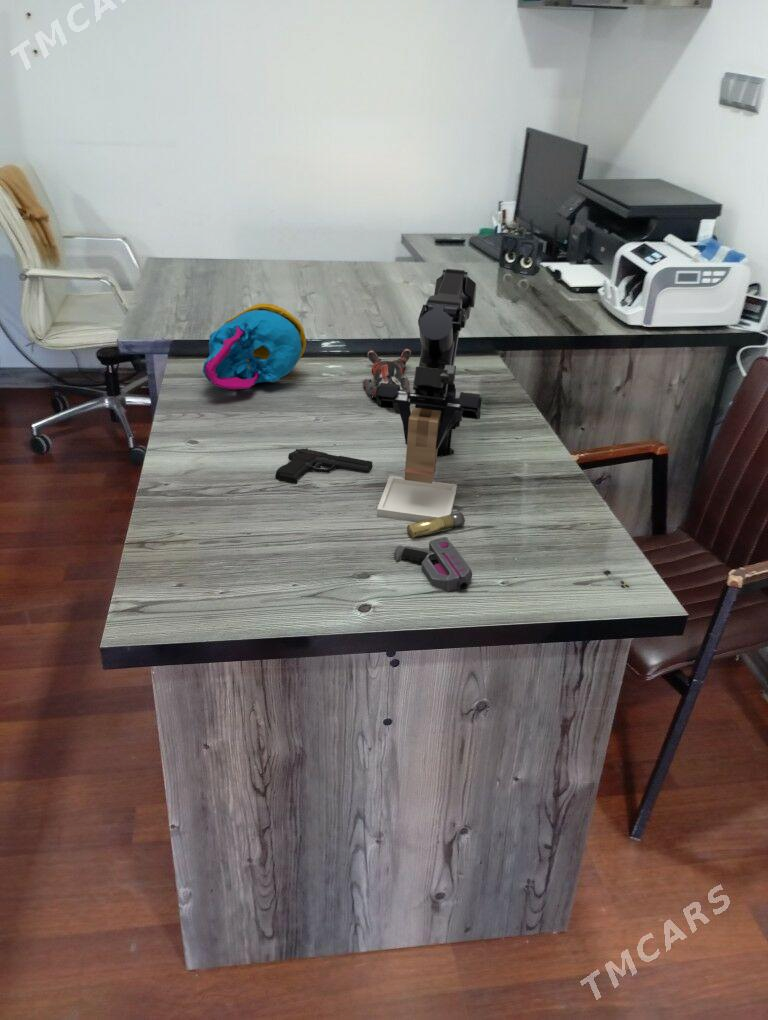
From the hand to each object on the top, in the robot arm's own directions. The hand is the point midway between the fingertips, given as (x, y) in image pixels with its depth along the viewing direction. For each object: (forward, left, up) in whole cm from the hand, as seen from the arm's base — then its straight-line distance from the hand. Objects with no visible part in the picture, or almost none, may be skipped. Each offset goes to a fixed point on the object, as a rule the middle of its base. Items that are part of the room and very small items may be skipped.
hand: (421, 446), depth 147 cm
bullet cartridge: (+1, +8, -12) cm, 15 cm away
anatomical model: (+7, -66, -13) cm, 68 cm away
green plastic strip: (-19, +33, -13) cm, 40 cm away
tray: (-1, -1, -12) cm, 12 cm away
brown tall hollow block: (-1, -1, -7) cm, 7 cm away
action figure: (-22, -52, -13) cm, 57 cm away
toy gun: (+8, +19, -13) cm, 24 cm away
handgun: (+10, -19, -13) cm, 25 cm away
